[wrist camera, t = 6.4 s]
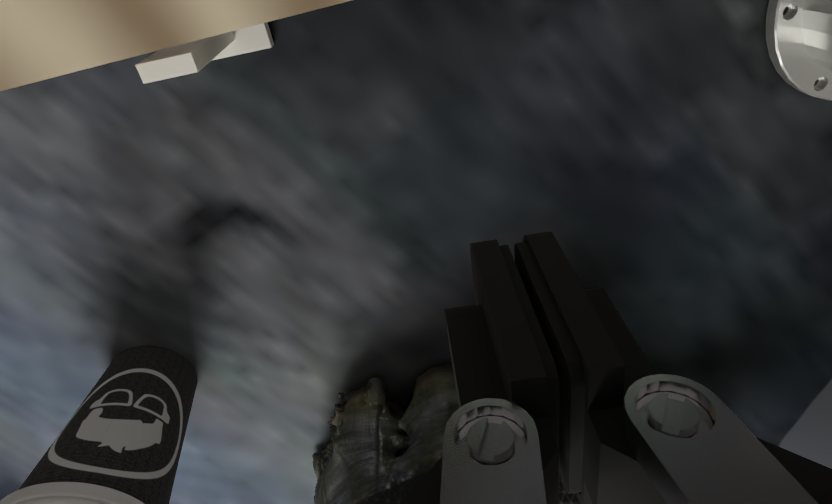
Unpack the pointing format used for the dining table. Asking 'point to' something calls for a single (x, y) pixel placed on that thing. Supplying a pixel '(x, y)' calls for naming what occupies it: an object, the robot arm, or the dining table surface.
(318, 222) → the dining table surface
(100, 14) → the beige flat panel
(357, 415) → the basket
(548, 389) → the robot arm
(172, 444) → the coffee cup
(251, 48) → the stand
